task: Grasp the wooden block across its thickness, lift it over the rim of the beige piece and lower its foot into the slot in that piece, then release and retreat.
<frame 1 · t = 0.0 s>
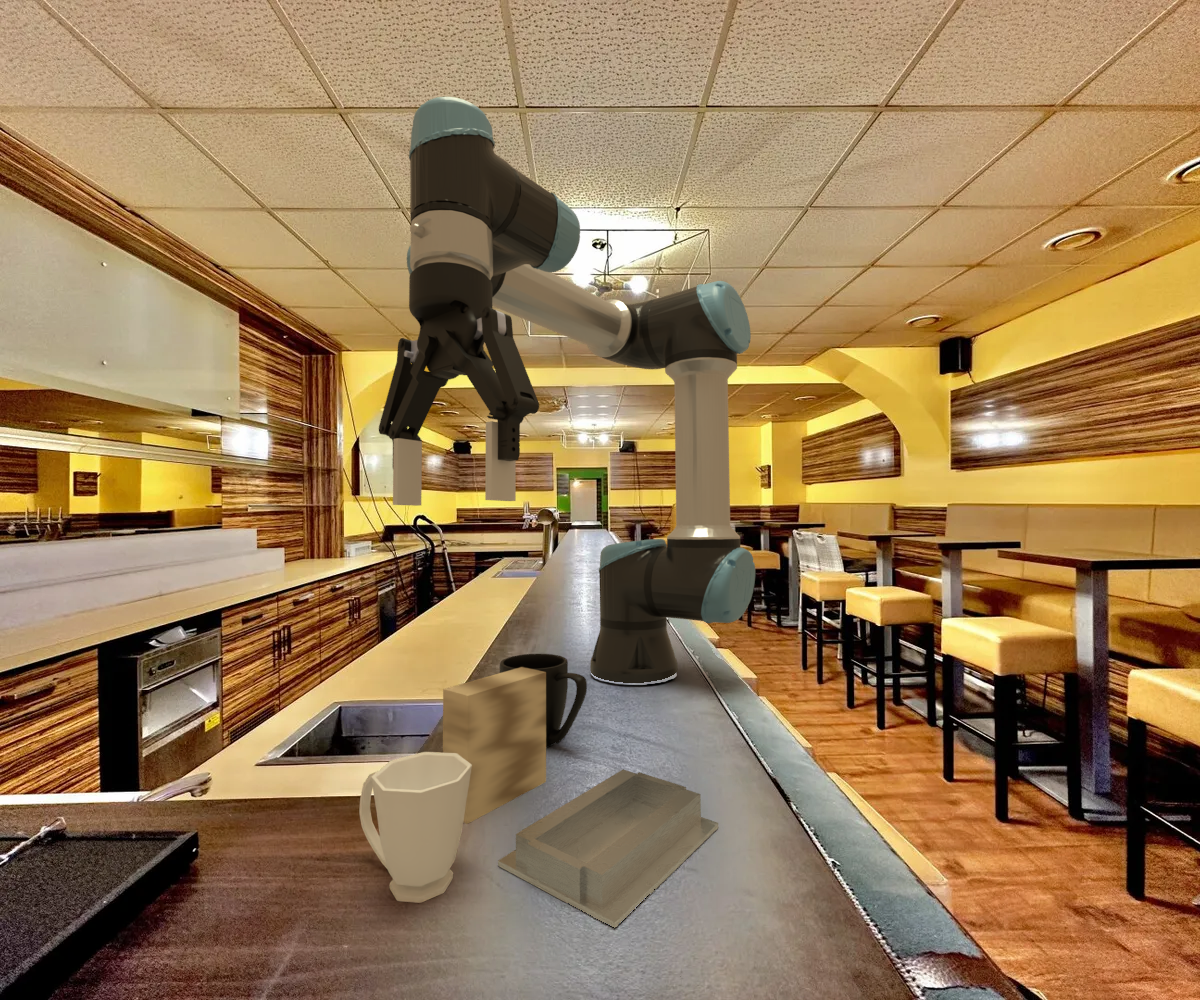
hand: (450, 503, 51), 28 cm above the counter, fingers open, 13 cm apart
mug: (544, 746, 66), on the counter
beige piece: (614, 845, 45), on the counter
cup: (407, 879, 41), on the counter
wooden block: (496, 796, 53), on the counter
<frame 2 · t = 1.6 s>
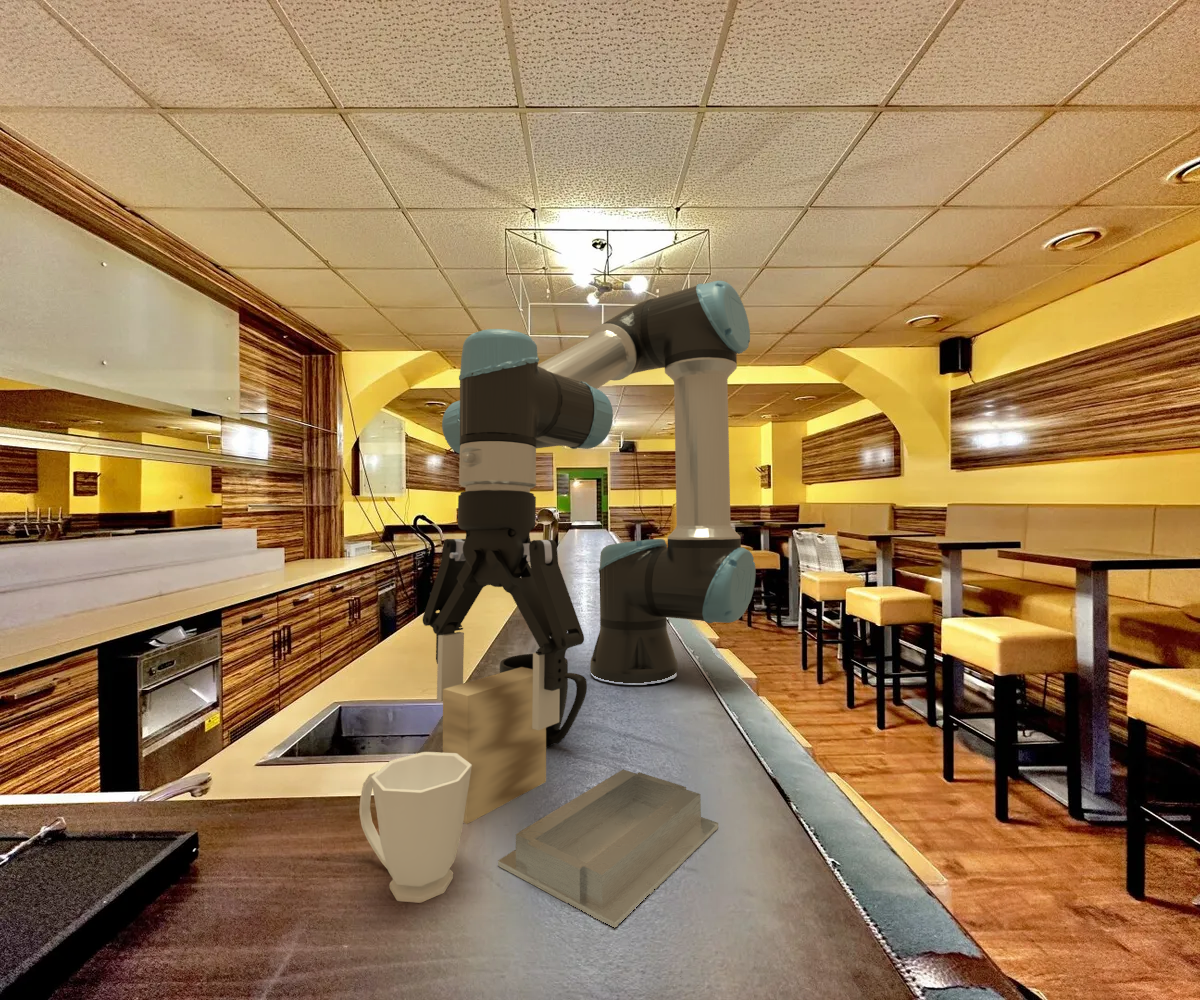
hand: (494, 710, 53), 8 cm above the counter, fingers open, 13 cm apart
nothing on the counter moved.
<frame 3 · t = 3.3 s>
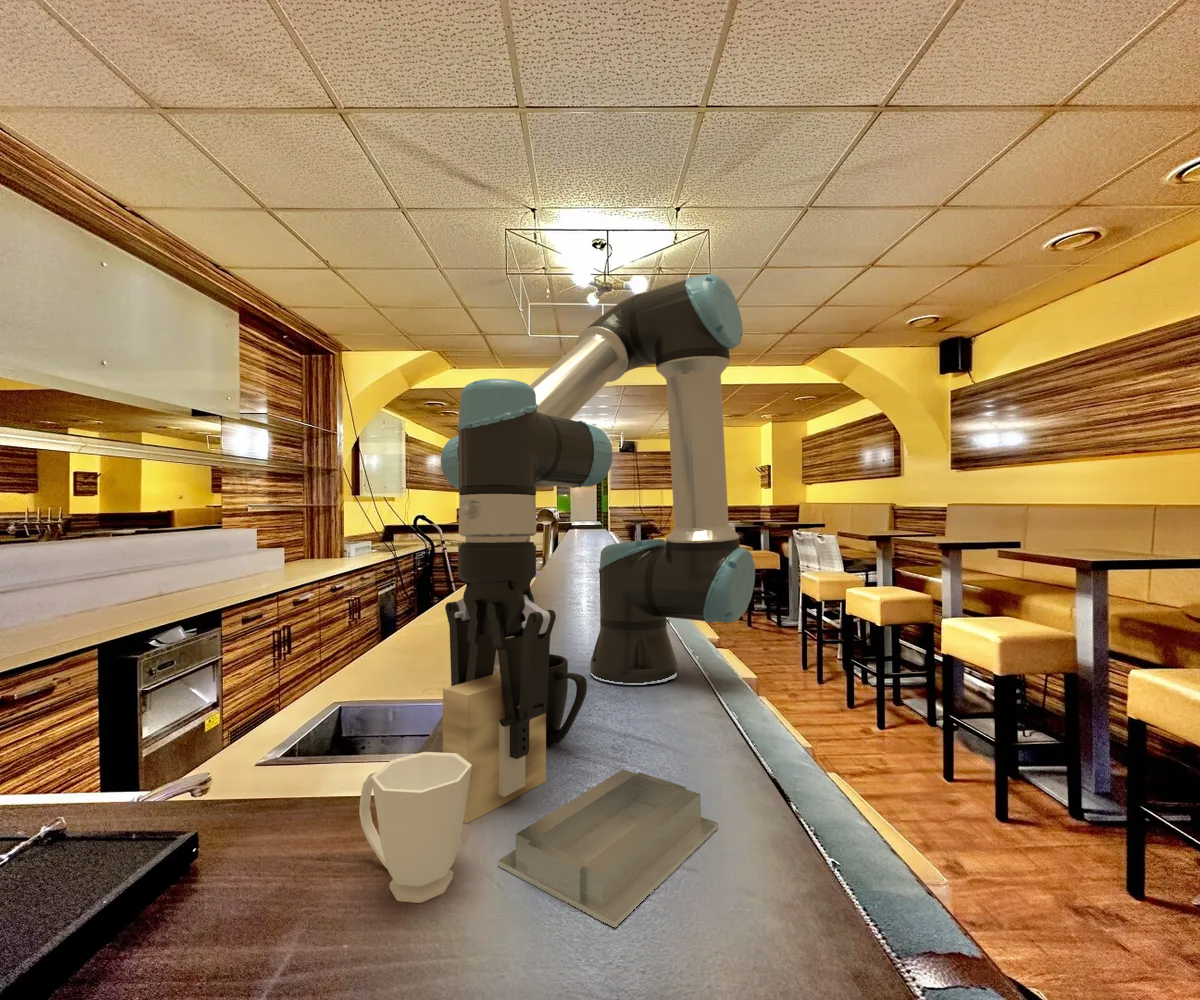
hand: (496, 783, 53), 1 cm above the counter, fingers closed on wooden block, 3 cm apart
wooden block: (496, 795, 53), on the counter, touching gripper
everything else where it was.
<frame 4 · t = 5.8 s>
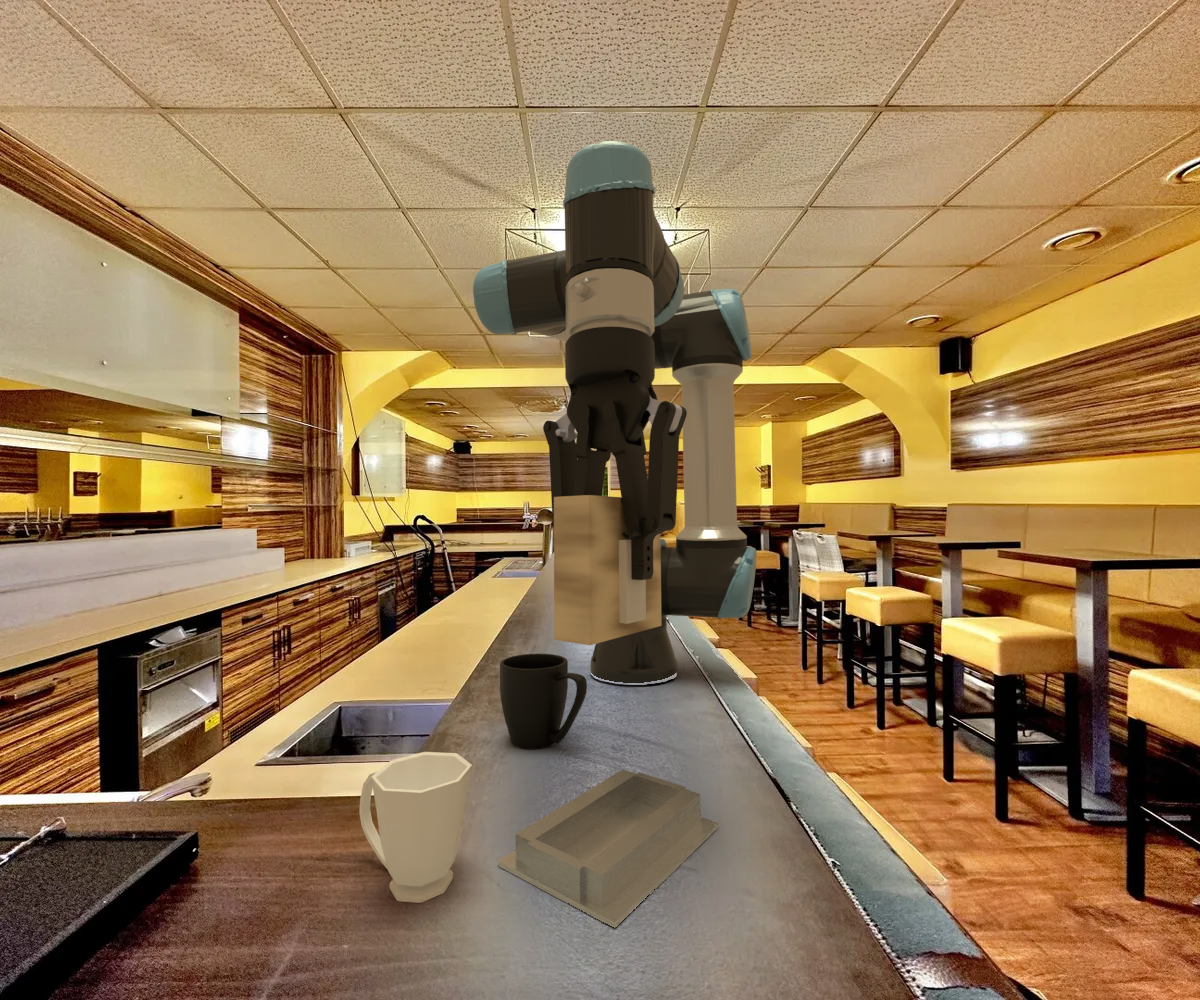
hand: (611, 617, 46), 18 cm above the counter, fingers closed on wooden block, 3 cm apart
wooden block: (611, 632, 46), point 17 cm above the counter, touching gripper
everything else where it was.
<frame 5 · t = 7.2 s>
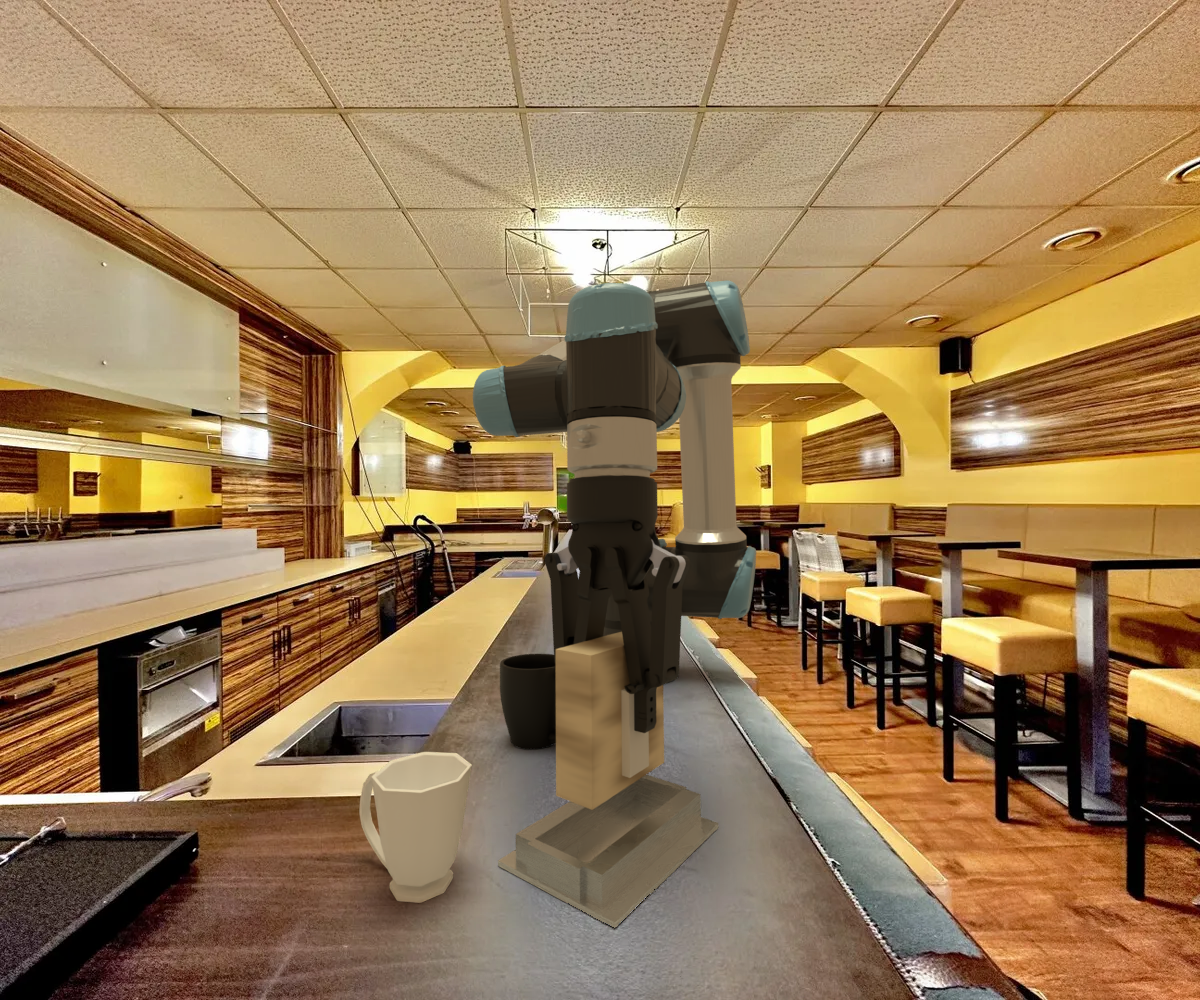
hand: (614, 763, 45), 7 cm above the counter, fingers closed on wooden block, 3 cm apart
wooden block: (613, 778, 45), point 5 cm above the counter, touching gripper
everything else where it was.
when the fingers open (4 cm above the counter, at t = 8.4 s): wooden block drops 2 cm, resting on beige piece.
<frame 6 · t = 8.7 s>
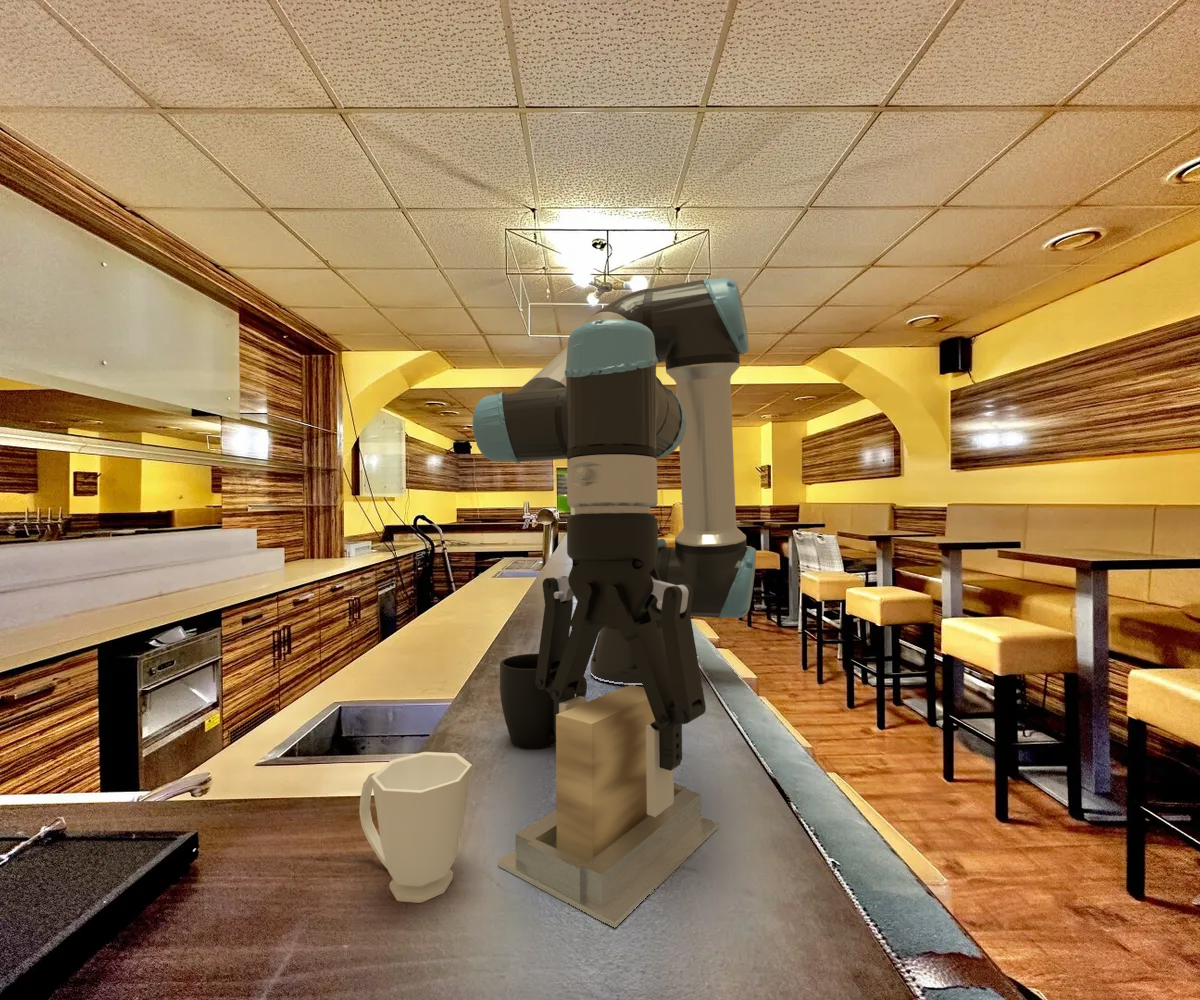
hand: (614, 791, 45), 4 cm above the counter, fingers open, 8 cm apart
wooden block: (614, 840, 45), resting on beige piece
everything else where it was.
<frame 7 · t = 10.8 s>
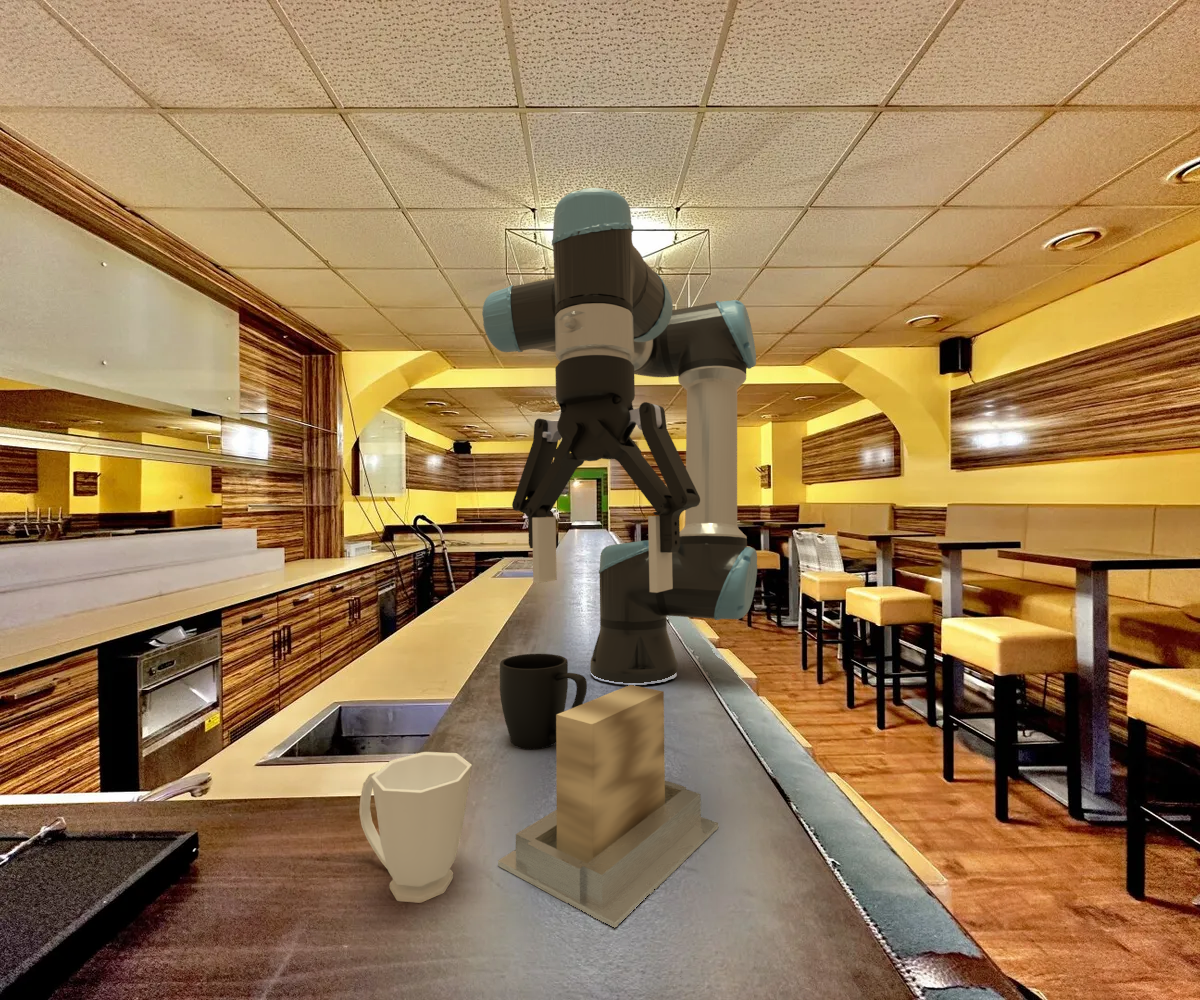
hand: (598, 586, 53), 20 cm above the counter, fingers open, 13 cm apart
nothing on the counter moved.
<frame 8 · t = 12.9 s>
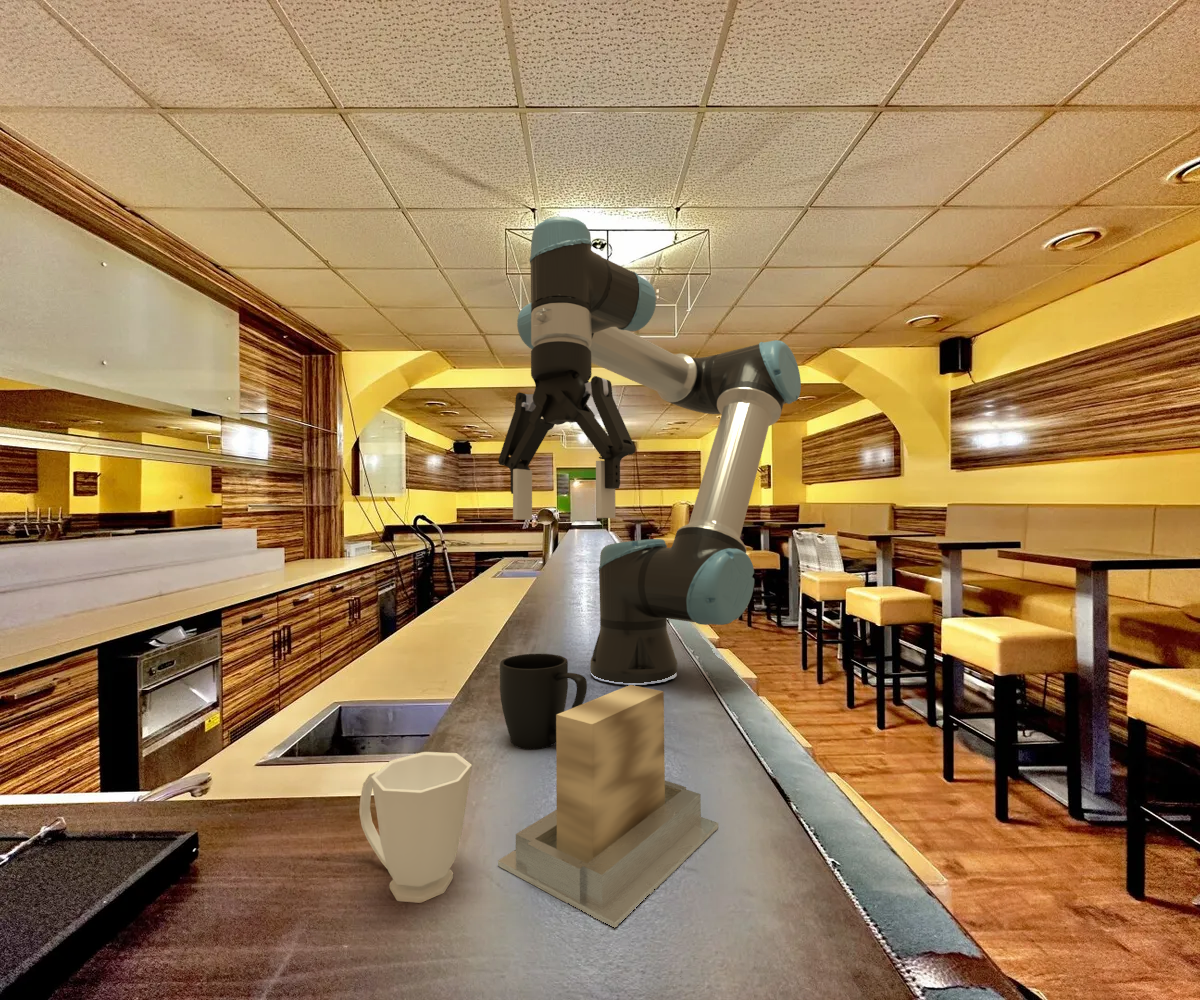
hand: (561, 519, 68), 27 cm above the counter, fingers open, 13 cm apart
nothing on the counter moved.
at the end: wooden block 0.0 cm off-centre on the beige piece, point 0.4 cm above the beige piece's base; wooden block tilted 0°; the gripper is holding nothing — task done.
